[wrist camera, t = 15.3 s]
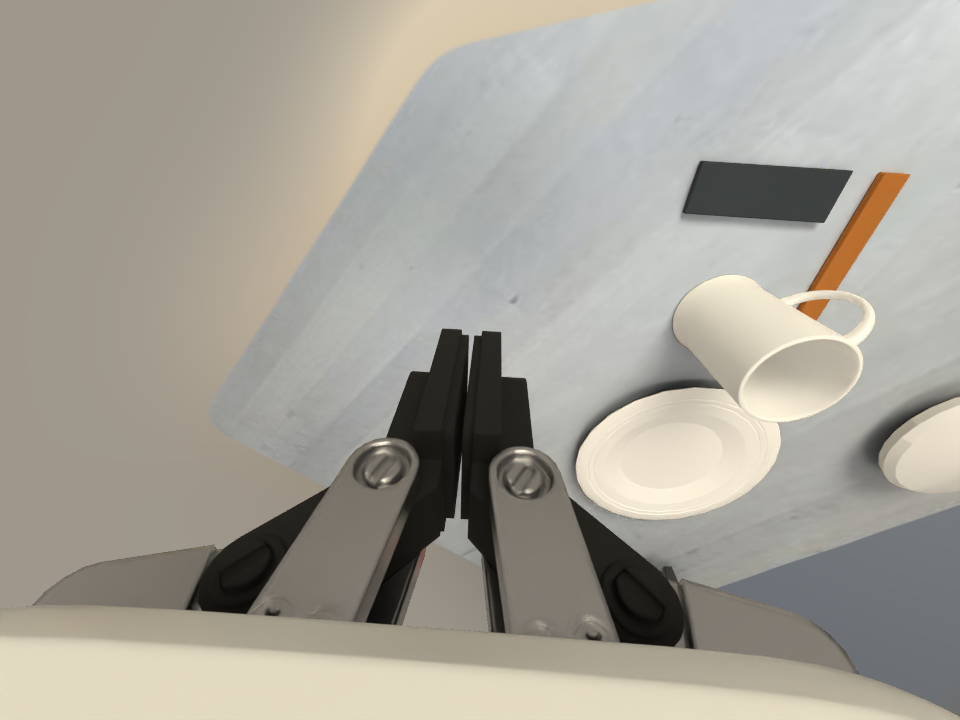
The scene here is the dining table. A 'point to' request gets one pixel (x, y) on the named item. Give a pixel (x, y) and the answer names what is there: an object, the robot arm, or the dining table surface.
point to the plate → (675, 454)
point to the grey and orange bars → (794, 207)
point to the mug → (771, 347)
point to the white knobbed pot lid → (925, 451)
